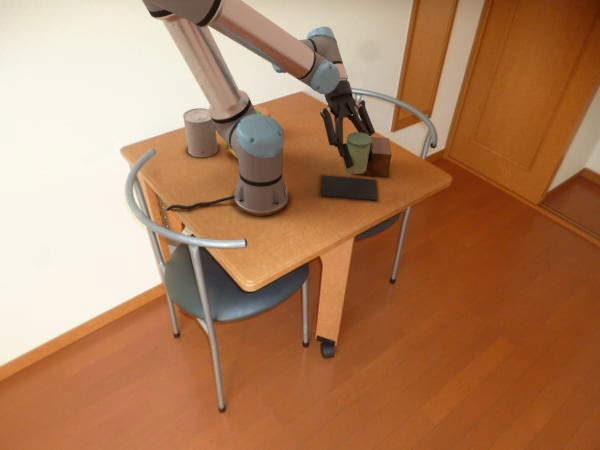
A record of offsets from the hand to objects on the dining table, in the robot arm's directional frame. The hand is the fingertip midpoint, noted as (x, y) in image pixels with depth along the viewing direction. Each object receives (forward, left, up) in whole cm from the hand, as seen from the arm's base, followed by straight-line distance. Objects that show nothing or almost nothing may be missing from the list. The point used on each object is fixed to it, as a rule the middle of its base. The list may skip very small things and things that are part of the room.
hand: (360, 164), depth 116 cm
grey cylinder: (-50, +18, -11) cm, 54 cm away
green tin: (-1, +2, -3) cm, 3 cm away
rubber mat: (-2, +3, -11) cm, 11 cm away
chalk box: (-36, +15, -10) cm, 40 cm away
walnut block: (+5, +16, -11) cm, 20 cm away
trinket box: (-35, +32, -11) cm, 49 cm away
